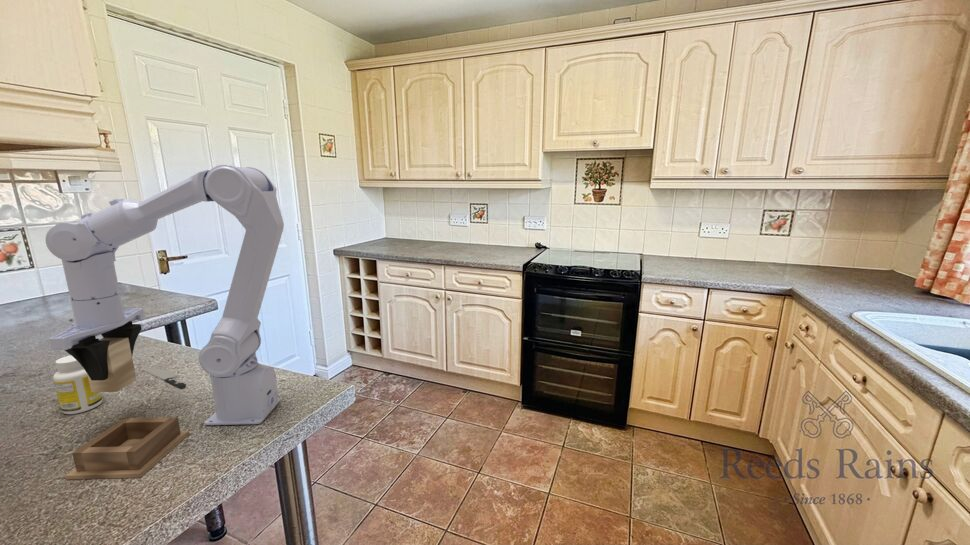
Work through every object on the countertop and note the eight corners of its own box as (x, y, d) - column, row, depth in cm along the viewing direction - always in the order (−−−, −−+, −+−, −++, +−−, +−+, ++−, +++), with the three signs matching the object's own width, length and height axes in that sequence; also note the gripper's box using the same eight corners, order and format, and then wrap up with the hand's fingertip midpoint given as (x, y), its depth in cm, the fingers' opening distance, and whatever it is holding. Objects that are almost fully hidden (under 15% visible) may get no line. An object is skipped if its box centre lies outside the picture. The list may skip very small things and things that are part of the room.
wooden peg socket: (189, 433, 64) (186, 414, 64) (140, 477, 55) (136, 455, 54) (126, 435, 64) (122, 415, 63) (65, 479, 54) (60, 457, 53)
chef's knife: (154, 365, 90) (138, 369, 87) (154, 360, 90) (138, 364, 87) (197, 385, 81) (180, 390, 78) (197, 380, 81) (180, 385, 78)
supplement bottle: (100, 396, 75) (90, 349, 73) (105, 406, 72) (94, 357, 70) (60, 407, 71) (48, 358, 69) (62, 418, 68) (50, 367, 66)
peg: (136, 380, 68) (128, 337, 66) (116, 391, 64) (107, 346, 62) (112, 380, 68) (103, 337, 66) (91, 392, 64) (81, 347, 62)
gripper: (109, 285, 69) (123, 355, 72) (19, 309, 55) (41, 395, 58) (150, 284, 70) (163, 354, 73) (71, 309, 56) (90, 394, 59)
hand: (112, 372), depth 65 cm, fingers closed on peg, 4 cm apart
